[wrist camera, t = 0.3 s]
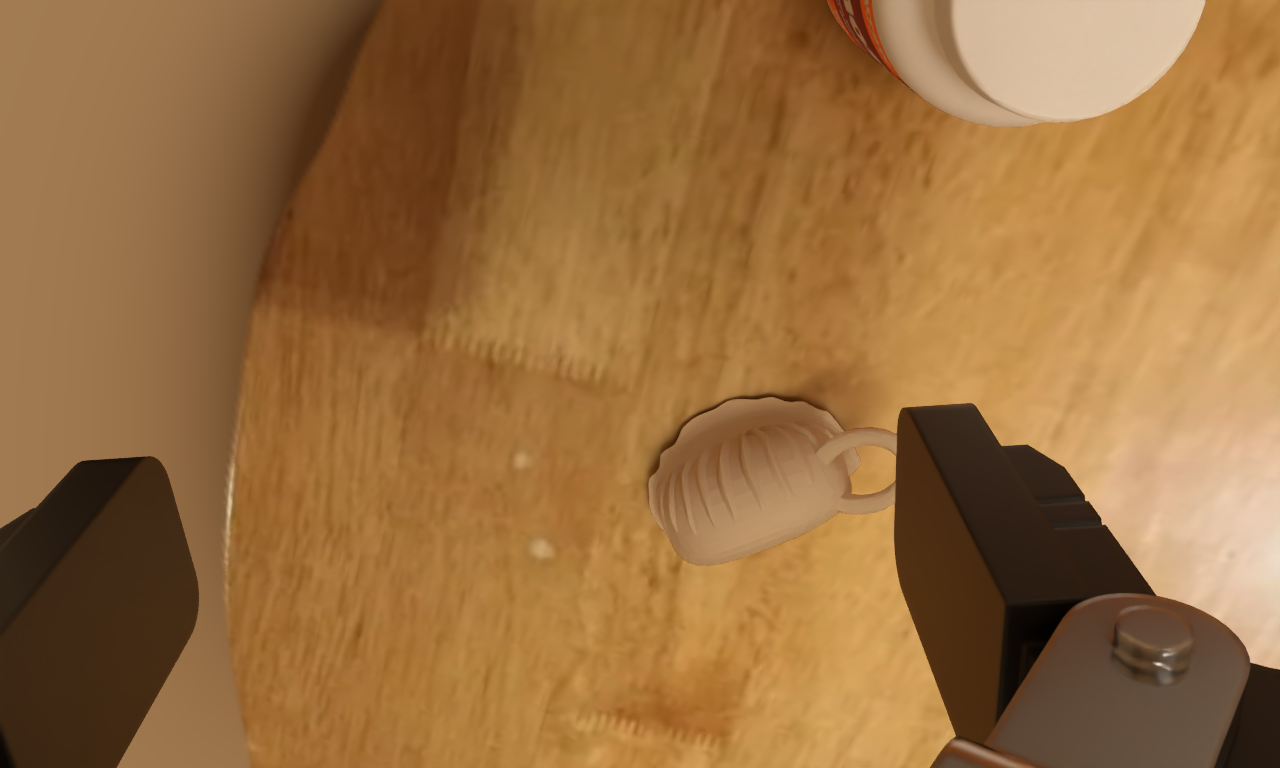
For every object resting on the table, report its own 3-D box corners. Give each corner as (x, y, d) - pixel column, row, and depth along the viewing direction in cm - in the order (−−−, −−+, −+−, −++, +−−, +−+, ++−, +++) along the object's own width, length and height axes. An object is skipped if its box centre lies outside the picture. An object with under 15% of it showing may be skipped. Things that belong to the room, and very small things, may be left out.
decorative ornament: (621, 440, 36) (620, 529, 32) (868, 348, 35) (905, 426, 30) (668, 539, 38) (673, 638, 33) (906, 454, 37) (948, 544, 32)
